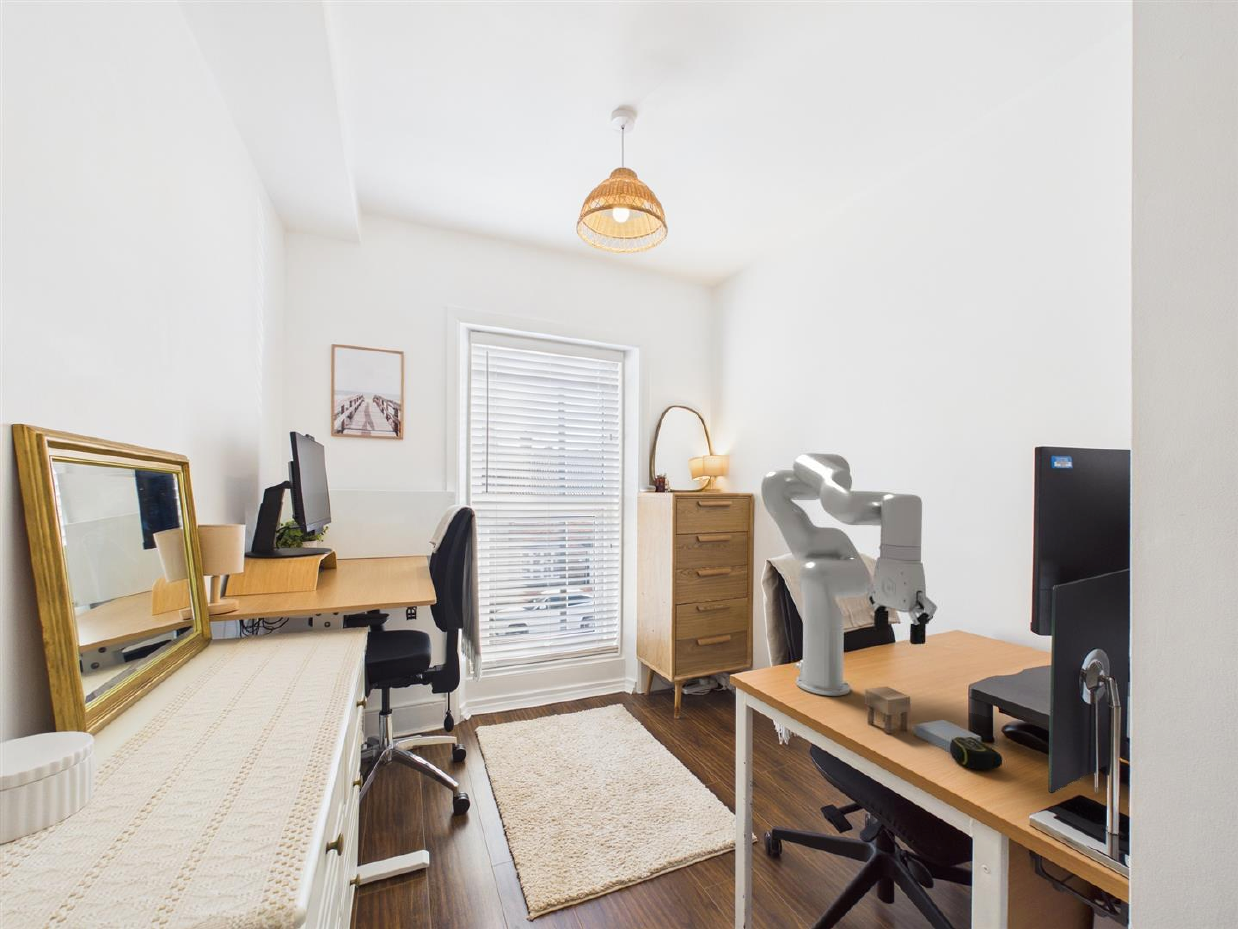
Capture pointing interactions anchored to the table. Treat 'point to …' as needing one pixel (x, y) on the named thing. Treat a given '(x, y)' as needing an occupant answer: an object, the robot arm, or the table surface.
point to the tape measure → (974, 753)
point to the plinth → (942, 733)
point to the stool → (887, 705)
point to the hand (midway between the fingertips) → (898, 636)
